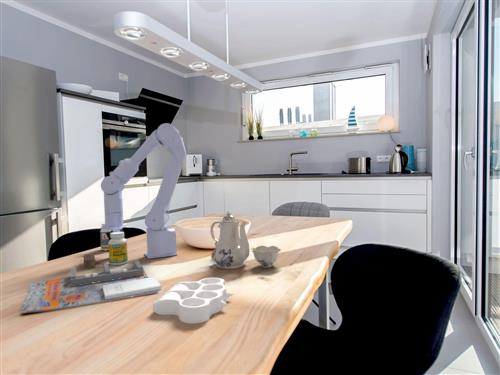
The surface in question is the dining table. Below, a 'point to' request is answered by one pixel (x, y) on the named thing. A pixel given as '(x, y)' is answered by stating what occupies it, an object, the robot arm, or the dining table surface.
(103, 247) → the pill bottle
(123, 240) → the supplement bottle
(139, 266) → the slot rack
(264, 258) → the chinaware
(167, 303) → the white egg tray
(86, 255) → the walnut bar
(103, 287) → the external hard drive
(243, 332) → the dining table surface
